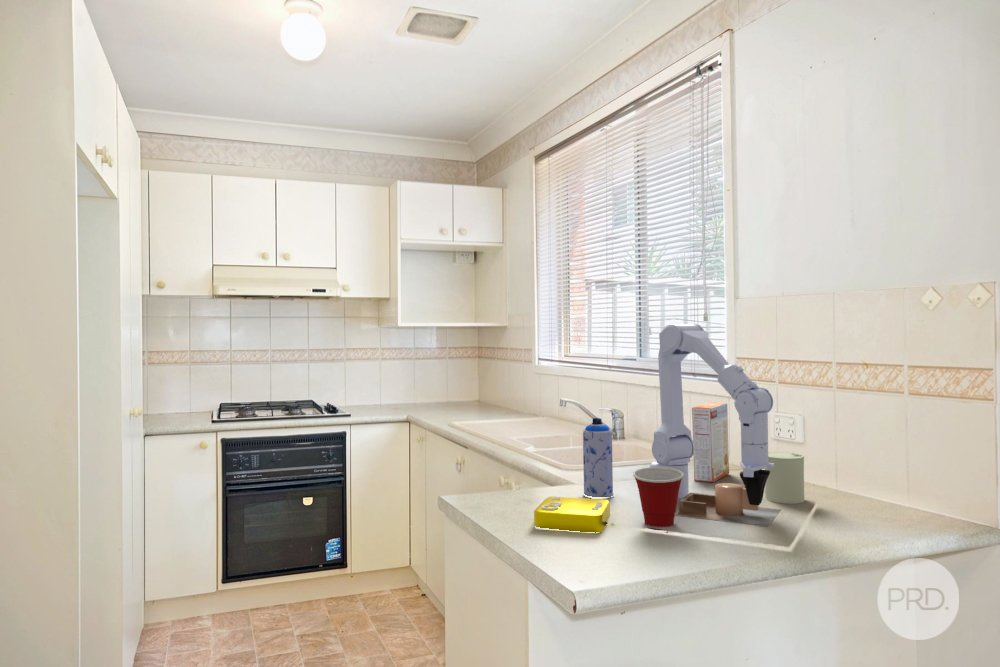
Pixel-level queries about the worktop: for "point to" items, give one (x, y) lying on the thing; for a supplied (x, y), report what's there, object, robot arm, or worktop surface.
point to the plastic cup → (658, 494)
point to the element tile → (572, 514)
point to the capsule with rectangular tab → (732, 499)
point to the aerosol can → (597, 460)
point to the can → (785, 478)
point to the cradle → (706, 509)
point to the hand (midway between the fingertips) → (755, 503)
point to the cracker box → (710, 441)
